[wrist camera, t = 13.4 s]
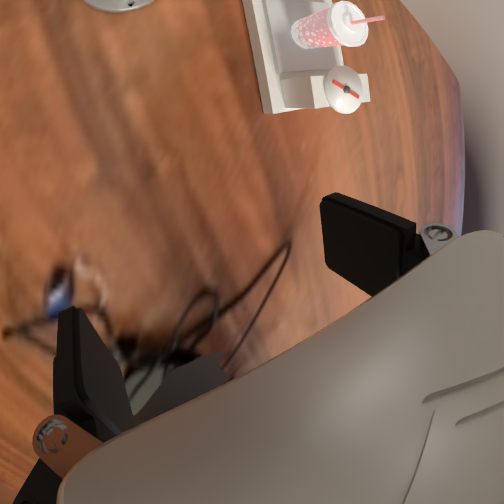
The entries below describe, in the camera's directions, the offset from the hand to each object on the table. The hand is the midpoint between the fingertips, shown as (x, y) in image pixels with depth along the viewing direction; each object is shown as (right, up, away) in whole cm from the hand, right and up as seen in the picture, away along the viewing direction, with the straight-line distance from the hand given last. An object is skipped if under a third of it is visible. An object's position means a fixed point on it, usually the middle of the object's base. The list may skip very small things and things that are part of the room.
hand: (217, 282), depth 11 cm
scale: (+7, +30, +28) cm, 42 cm away
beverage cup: (+8, +31, +24) cm, 40 cm away
